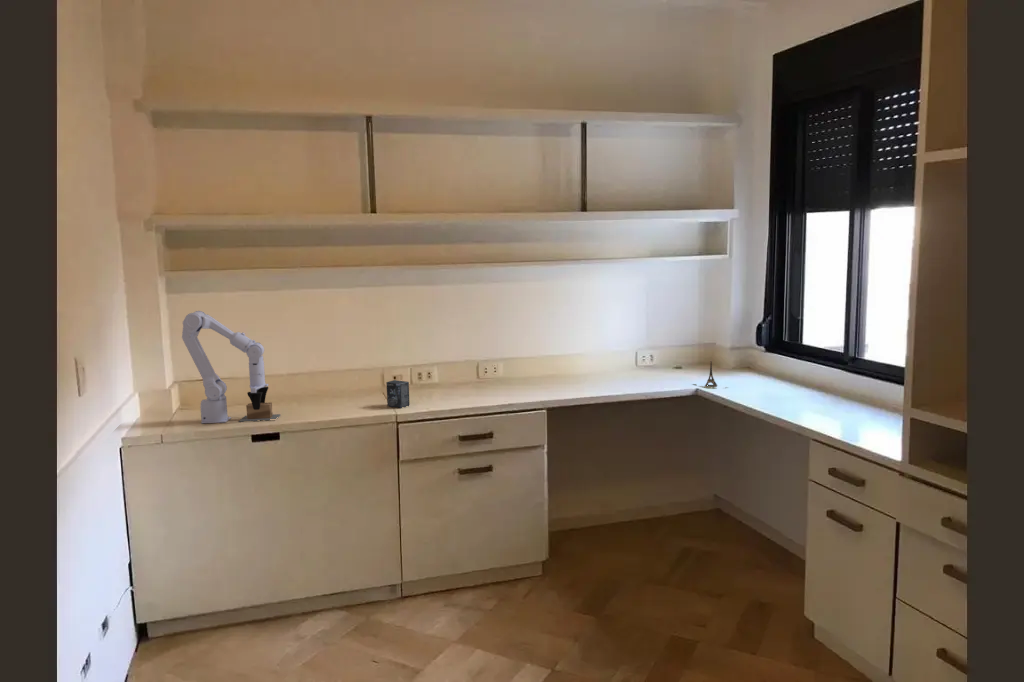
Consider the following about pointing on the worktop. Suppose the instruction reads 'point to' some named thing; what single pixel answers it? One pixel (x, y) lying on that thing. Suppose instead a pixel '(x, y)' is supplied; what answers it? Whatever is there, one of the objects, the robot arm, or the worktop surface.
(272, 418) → the mat
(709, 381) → the eiffel tower figurine
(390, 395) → the box
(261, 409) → the walnut block
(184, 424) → the worktop surface
